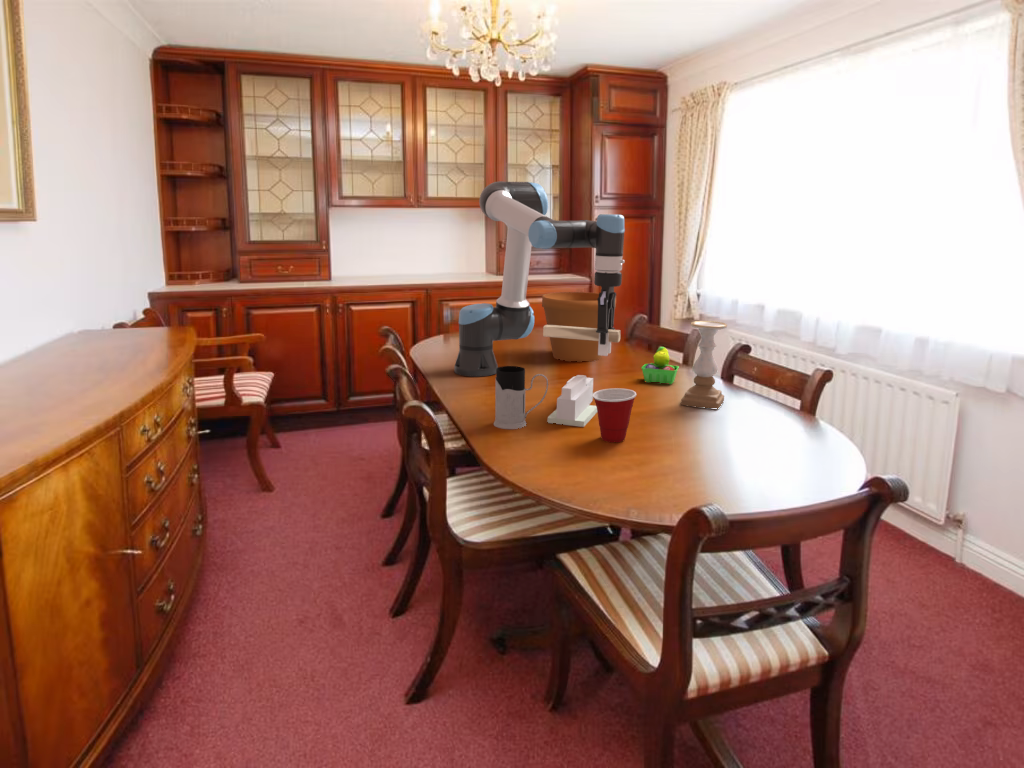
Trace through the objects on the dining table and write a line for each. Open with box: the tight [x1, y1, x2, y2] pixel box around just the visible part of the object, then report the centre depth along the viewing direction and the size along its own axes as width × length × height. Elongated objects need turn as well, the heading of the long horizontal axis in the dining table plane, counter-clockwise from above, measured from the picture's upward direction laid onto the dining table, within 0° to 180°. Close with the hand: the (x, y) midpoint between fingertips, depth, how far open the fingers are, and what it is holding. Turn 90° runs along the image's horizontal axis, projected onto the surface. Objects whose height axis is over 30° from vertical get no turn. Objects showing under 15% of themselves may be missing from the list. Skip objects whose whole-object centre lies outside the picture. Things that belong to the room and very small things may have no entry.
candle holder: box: [680, 320, 728, 409], centre depth 203 cm, size 11×11×24 cm
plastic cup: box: [592, 387, 637, 443], centre depth 171 cm, size 11×11×12 cm
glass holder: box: [493, 365, 549, 430], centre depth 182 cm, size 9×14×15 cm, turn 88°
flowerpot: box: [541, 291, 617, 363], centre depth 267 cm, size 28×28×24 cm
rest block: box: [565, 376, 594, 404], centre depth 203 cm, size 8×6×7 cm
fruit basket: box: [641, 346, 680, 385], centre depth 231 cm, size 11×9×11 cm
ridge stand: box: [546, 374, 598, 428], centre depth 189 cm, size 16×10×10 cm, turn 160°
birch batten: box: [542, 324, 621, 343], centre depth 199 cm, size 3×22×3 cm, turn 70°
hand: (604, 353), depth 198 cm, fingers closed on birch batten, 3 cm apart
